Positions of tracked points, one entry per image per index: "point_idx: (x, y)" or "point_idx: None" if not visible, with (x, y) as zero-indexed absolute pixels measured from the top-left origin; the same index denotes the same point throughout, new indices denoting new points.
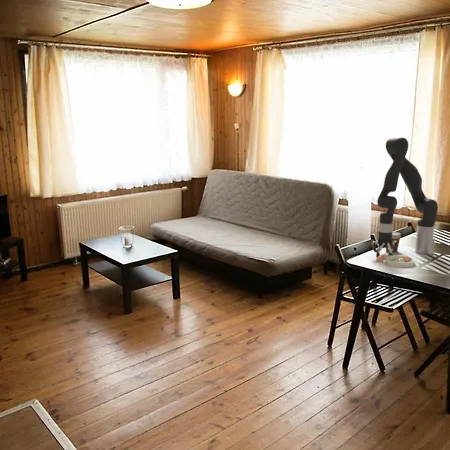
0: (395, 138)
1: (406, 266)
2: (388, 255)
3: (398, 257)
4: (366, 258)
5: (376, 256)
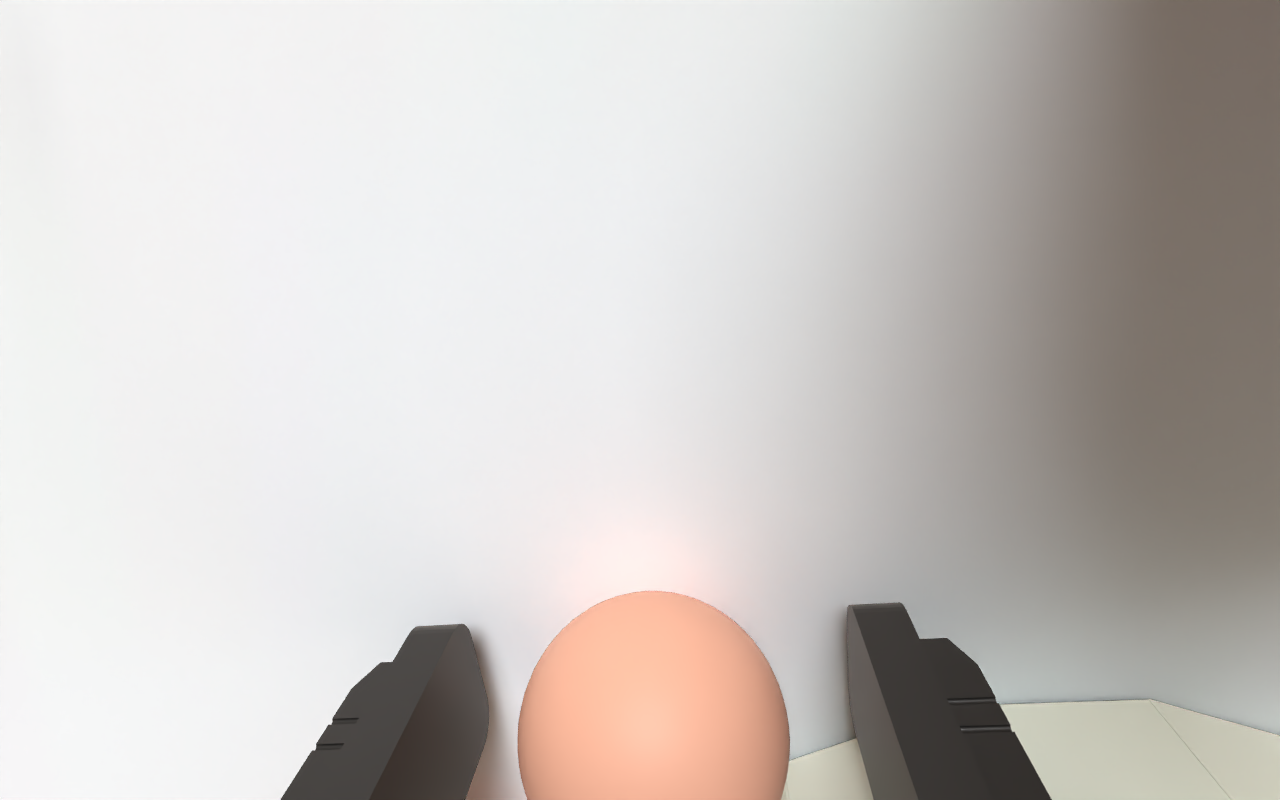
0: None
1: None
2: (878, 694)
3: None
4: (78, 508)
5: (348, 731)
